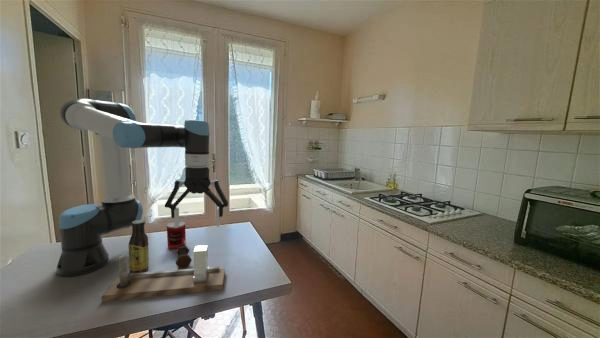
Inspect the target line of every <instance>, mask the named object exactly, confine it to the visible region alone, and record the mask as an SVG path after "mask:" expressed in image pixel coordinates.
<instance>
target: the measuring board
mask: <svg viewBox="0 0 600 338" xmlns="http://www.w3.org/2000/svg"><path fill="white" fill-rule="evenodd" d="M118 269H119V270H118V271H119V277H117V278H116V279H115V280H114V281H113V283H111V285H110V286H109V287H108V288H106V290H105V291H104V292H103V294H102V295H101V302H112V301H121V300H122V301H123V300H124V301H125V300H133V299H143V298H152V297H153V298H154V297H164V296H175V295H183V294H193V293H195V294H196V293H203V292H204V293H205V292H211V291H212V292H213V291H222V290H223V289H224V282H225V275H226V268H220V266H208V275H207V279H206V282H197V283H193V277H194V268H180V269H172V270H171V269H170V270H160V271H158V270H157V271H145V272H143V273H130V274H128V264H127V256H126V255H125V254H122V255H120V256H118Z"/></svg>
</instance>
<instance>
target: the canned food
mask: <svg viewBox="0 0 600 338" xmlns="http://www.w3.org/2000/svg"><path fill="white" fill-rule="evenodd" d="M186 236H187V235H186V222H185V221H180V220H179V226H178V227H177V228H175V222H174V221H171V222H169V223H167V224H166V238H167V242H166V243H167V247H168V249H169V250H172V251H174V250H175V251H177V250H178V248H179V246H180V245H185V246H186V243H187V242H186V241H187V240H186V239H187V238H186Z"/></svg>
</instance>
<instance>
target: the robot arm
mask: <svg viewBox="0 0 600 338" xmlns="http://www.w3.org/2000/svg"><path fill="white" fill-rule="evenodd" d="M59 116H60V119H61V120H62V122H63V123H65V125H67V126H69V127H70V128H73V129H75V130H79V131H90V132H93V133H94V134H95V136H96V137H98V138H99V139H100V143H101V156H102V166H103V178H104V190H105V197H104V198H102V199H101V206H100V205H99V204H97V203H89V204H88V203H87V204H81V205H77V206H74V207H70V208H69V209H66V210H64V211H63V212H61V214H59V218H58V222H59V223H58V228H59V234H60V235H59V236H60V244H61V245H60V246H61V254H60V257H59V259H58V262H57V264H56V265H57V266H56V273H57V275H58V276H60V277H76V276H81V275H85V274H90V273H92V272H95V271H97V270H100V269H101V268H104V267H105V266H106V265H107V264H108V263H109V262H110V256H109V253H108V251H107V249H106V248H105V246H104V244H103V238H102V237H103V236H104V235H108V234H110V233H113V232H116V231H120V230H124V229H129V228H130V227H132V222H133V221H136V220H142V217H143V206H142V204H141V201H140V200H139V199H137V198H136V196H135V195H134V194H132V192H131V191H132V190H131V179H130V168H129V167H130V166H129V153H128V151H129V150H128V149H142V148H148V149H149V148H184V165H185V166H186V167H185V168H184V170H185V171H184V172H185V179H184V180H182V179H176V180H175V181H174V187H173V188H172V191H171V192H170V195H169V196H168V198H167V199H166V202H165V204H164V207H165V208H168V209H170V216H171V218H172V219H173V222H175V228H177V227H178V226H179V221H180V208H179V207H178V205H179V204H180V203H181V202H182V201H183V200H184V198H186V197H187V196H188V194H189V193H190V194H203V193H204V194H205V195H206V196H208V198H210V199H211V201H212V202H213V203H214V204H215V205H216V206H217V207H216V228H218V227H219V228H220V224H221V218H222V217H223V215H224V208H226V207H228V206H229V202H228V199H227V197H226V195H225V194H224V192H223V189H222V188H221V186H220V181H219V179H215V180H210V167H209V165H210V126H209V122H208V121H206V120H199V119H186V120H184V125H179V124H178V125H176V124H175V125H174V124H163V123H160V124H159V123H145V122H141V121H140V122H139V121H137V119H136V115H135V112H134V111H133V109H132V108H131V107H130V106H129V105H127V104H124V103H119V102H116V101H115V102H114V101H106V100H99V99H89V98H74V99H69V100H68V101H66V102H64V103H63V104H62V105H61V107H60V110H59ZM183 185H184V186H185V188H186V189H185V190H184V192H183V193H182V194H181V195H180V196H179V197H178V198H177V199H176V200H175V202H174V203H173V201H174V199H175V197H176V195H177V193H178V191H179V190H180V188H181V187H182V186H183ZM210 186H212V187H214V188H215V190H216V193H217V195H218V196H219V198H220V199H219V198H218V197H217V195H216V194H215V193H214V192H213V191H212V190H211V189H210Z"/></svg>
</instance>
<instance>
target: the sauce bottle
mask: <svg viewBox="0 0 600 338" xmlns="http://www.w3.org/2000/svg"><path fill="white" fill-rule="evenodd" d="M145 225H146V222H145V220H144V219H141V220H136V221H133V222H132V226H131V227H132V228H131V229H132V231H131V232H132V233H131V235H130V239H129V242H128V269H129V273H130V274H131V273H143V272H147V270H148V269H149V261H150V260H149V259H150V258H149V253H150V252H149V237H148V235H147V234H146V233H145Z"/></svg>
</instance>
